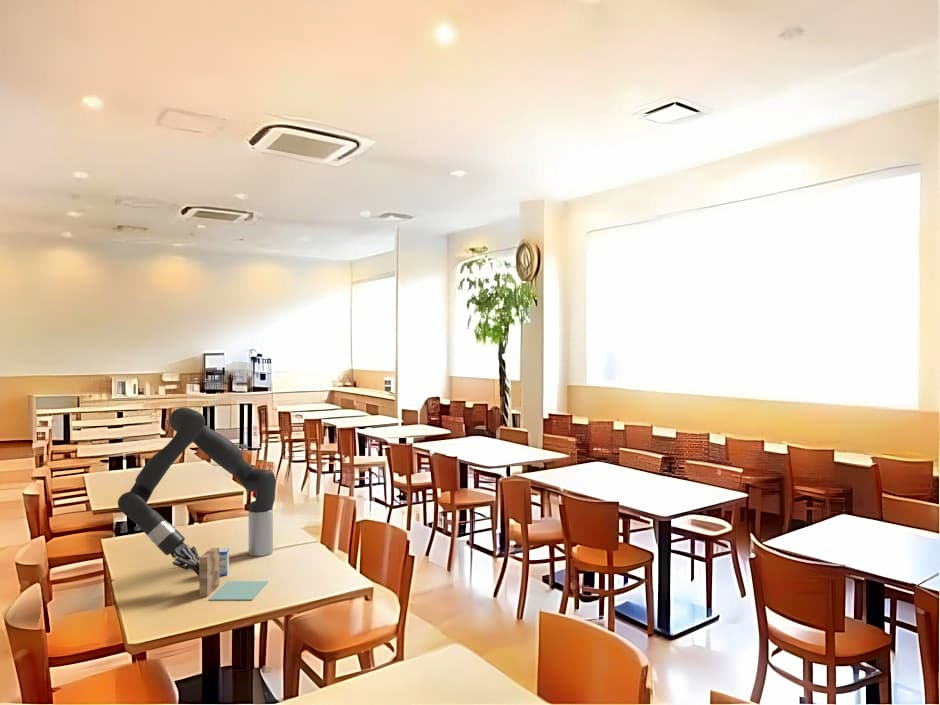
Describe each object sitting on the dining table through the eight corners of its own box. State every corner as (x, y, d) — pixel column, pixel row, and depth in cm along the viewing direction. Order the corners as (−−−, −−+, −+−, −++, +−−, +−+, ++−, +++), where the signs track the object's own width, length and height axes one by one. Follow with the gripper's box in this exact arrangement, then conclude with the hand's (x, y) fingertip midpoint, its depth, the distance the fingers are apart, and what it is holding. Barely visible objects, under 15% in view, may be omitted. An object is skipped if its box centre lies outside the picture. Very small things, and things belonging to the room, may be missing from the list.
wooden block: (211, 585, 216) (211, 547, 216) (219, 585, 216) (219, 547, 216) (199, 597, 206) (199, 557, 206) (207, 597, 206) (207, 557, 206)
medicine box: (204, 577, 223) (203, 553, 223) (205, 573, 228) (205, 549, 228) (227, 575, 225) (227, 551, 225) (228, 571, 230) (228, 547, 230)
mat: (227, 582, 219) (227, 581, 219) (267, 582, 219) (267, 581, 219) (208, 600, 203) (208, 599, 203) (252, 600, 203) (252, 599, 203)
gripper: (164, 535, 204) (202, 572, 204) (183, 524, 217) (218, 559, 217) (148, 551, 204) (186, 589, 204) (167, 539, 217) (203, 574, 217)
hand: (202, 573), depth 211 cm, fingers closed
